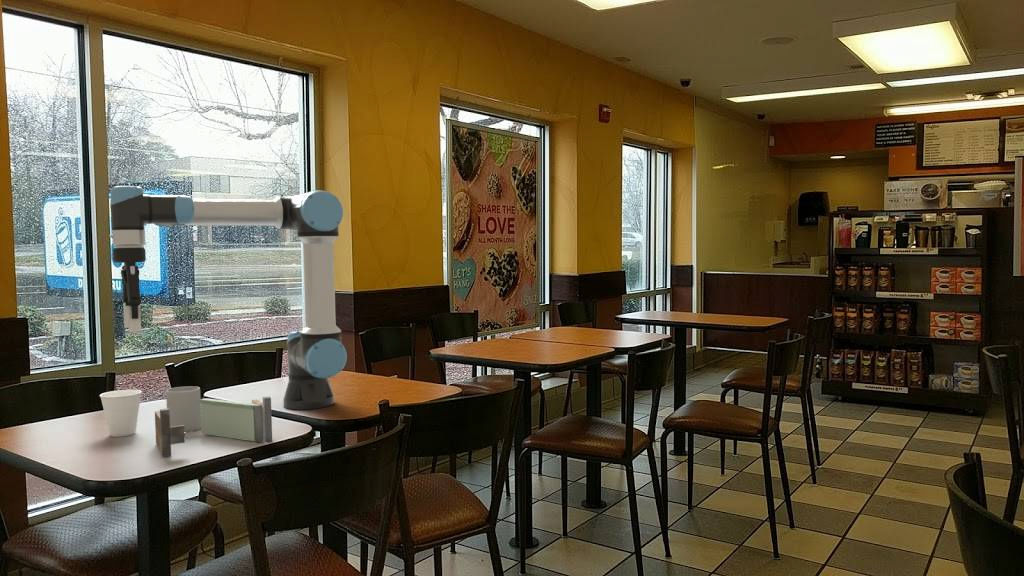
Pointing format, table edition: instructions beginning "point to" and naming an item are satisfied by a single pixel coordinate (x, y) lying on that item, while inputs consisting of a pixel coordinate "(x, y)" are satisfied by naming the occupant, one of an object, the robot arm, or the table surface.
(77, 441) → the table surface
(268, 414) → the hinge post
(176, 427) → the post
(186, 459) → the table surface
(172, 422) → the mug
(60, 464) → the table surface
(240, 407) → the gate
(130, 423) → the cup
